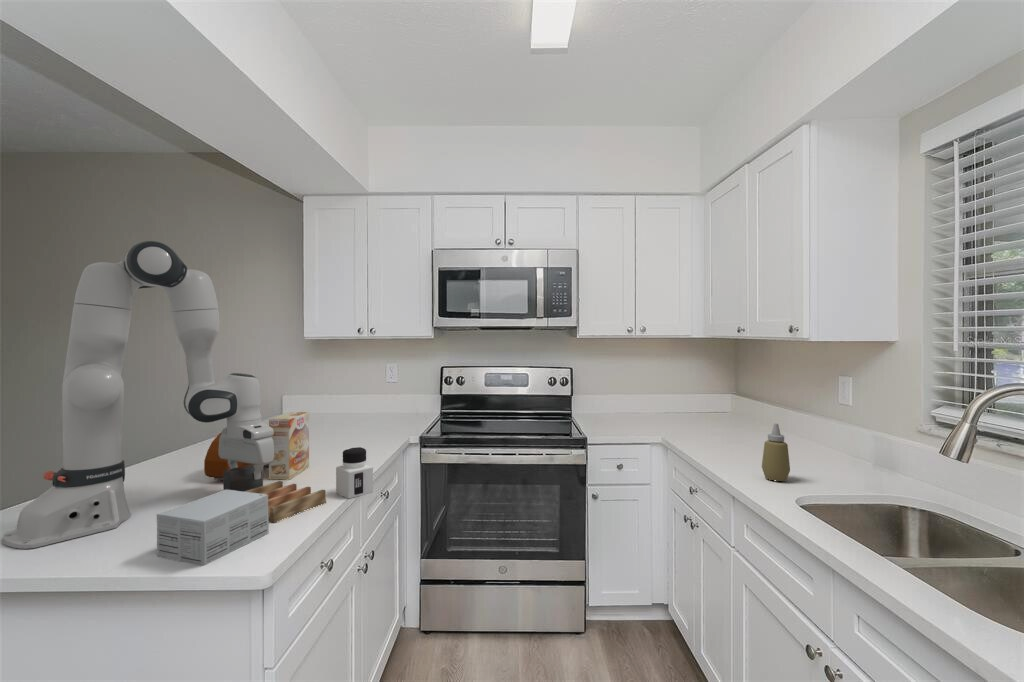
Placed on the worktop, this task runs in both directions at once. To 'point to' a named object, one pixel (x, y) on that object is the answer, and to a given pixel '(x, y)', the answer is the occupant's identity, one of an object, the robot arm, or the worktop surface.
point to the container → (354, 474)
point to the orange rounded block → (218, 461)
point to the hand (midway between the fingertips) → (245, 476)
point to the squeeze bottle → (776, 456)
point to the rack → (288, 499)
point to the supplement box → (211, 526)
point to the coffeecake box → (289, 445)
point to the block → (241, 478)
